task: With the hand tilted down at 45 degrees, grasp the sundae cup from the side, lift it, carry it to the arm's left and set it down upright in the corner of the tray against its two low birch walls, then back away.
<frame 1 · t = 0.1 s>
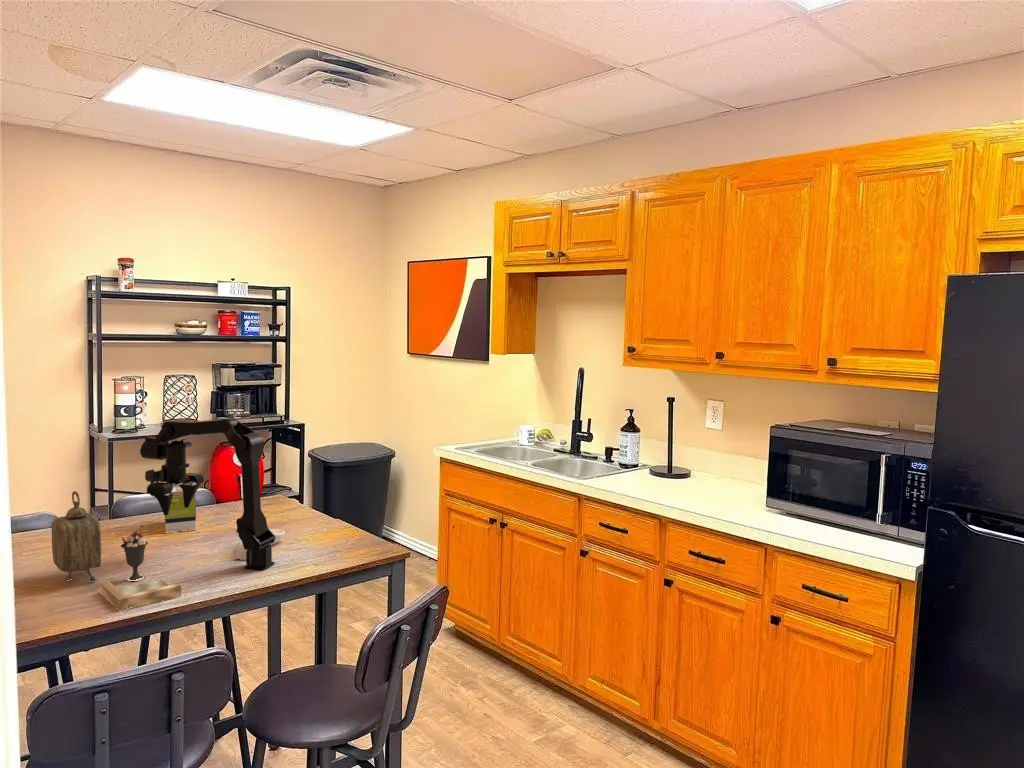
hand: (176, 511, 221), 15 cm above the table, tool pointing down, fingers open, 9 cm apart
tabletop clock: (77, 580, 203), on the table
sundae: (135, 579, 204), on the table
spoon rest: (258, 550, 233), on the table
corner tray: (145, 592, 194), on the table
tea box: (180, 527, 256), on the table
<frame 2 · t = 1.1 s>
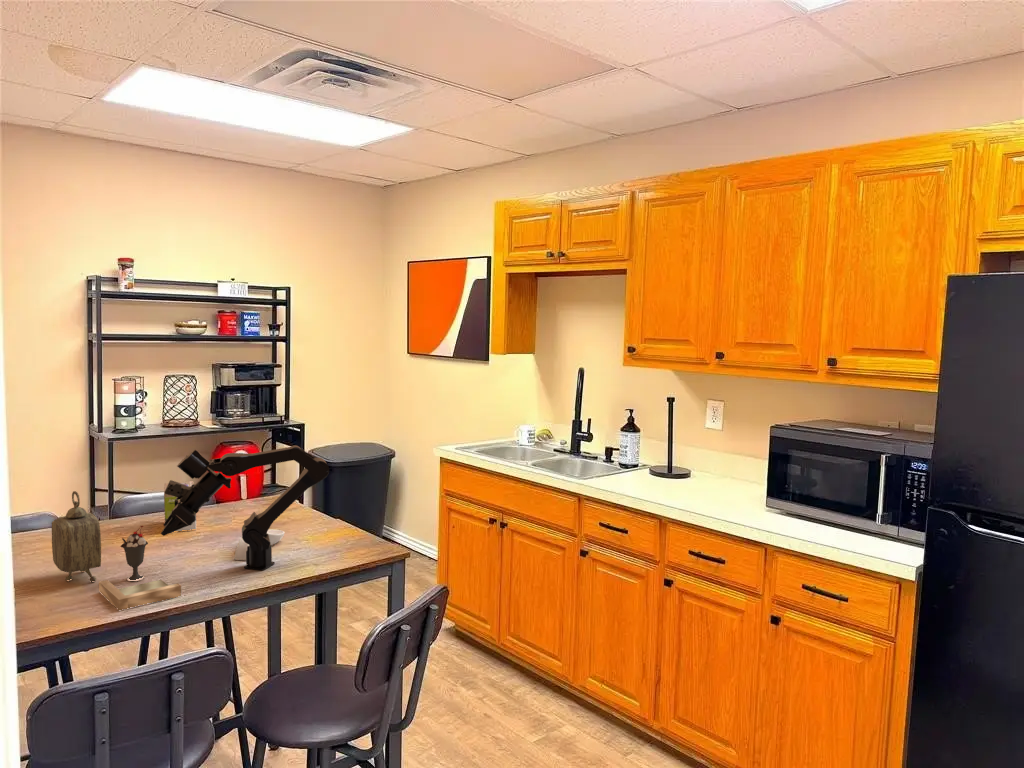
hand: (163, 530, 206), 13 cm above the table, tool tilted 45°, fingers open, 9 cm apart
nothing on the table moved.
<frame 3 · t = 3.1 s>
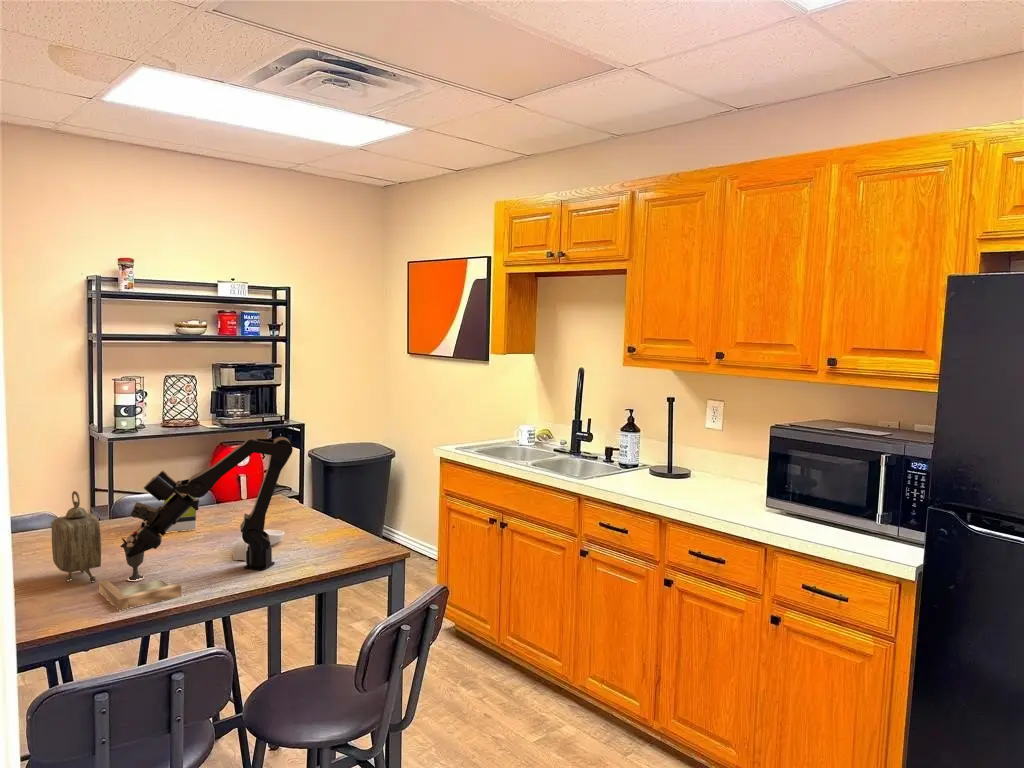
hand: (129, 552, 203), 8 cm above the table, tool tilted 45°, fingers closed on sundae, 6 cm apart
sundae: (135, 579, 204), on the table, touching gripper
when the fingers open (9 cm above the table, at t = 6.3 s): sundae drops 1 cm, resting on corner tray.
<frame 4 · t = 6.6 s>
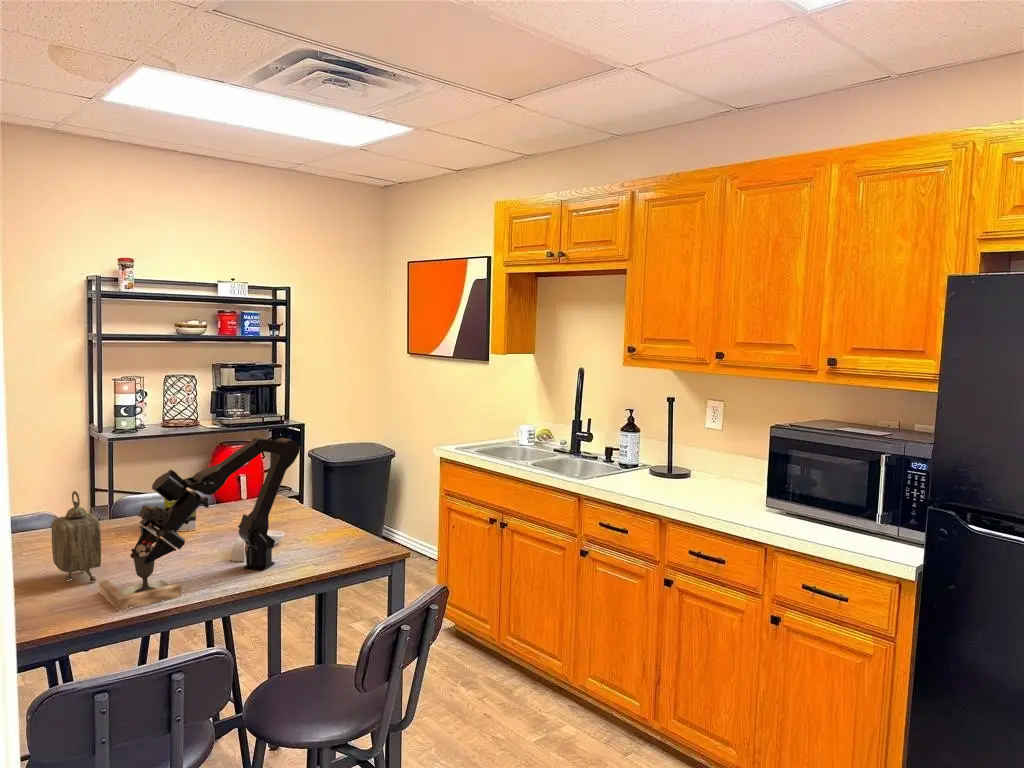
hand: (139, 558, 192), 10 cm above the table, tool tilted 45°, fingers open, 9 cm apart
sundae: (145, 591, 194), resting on corner tray
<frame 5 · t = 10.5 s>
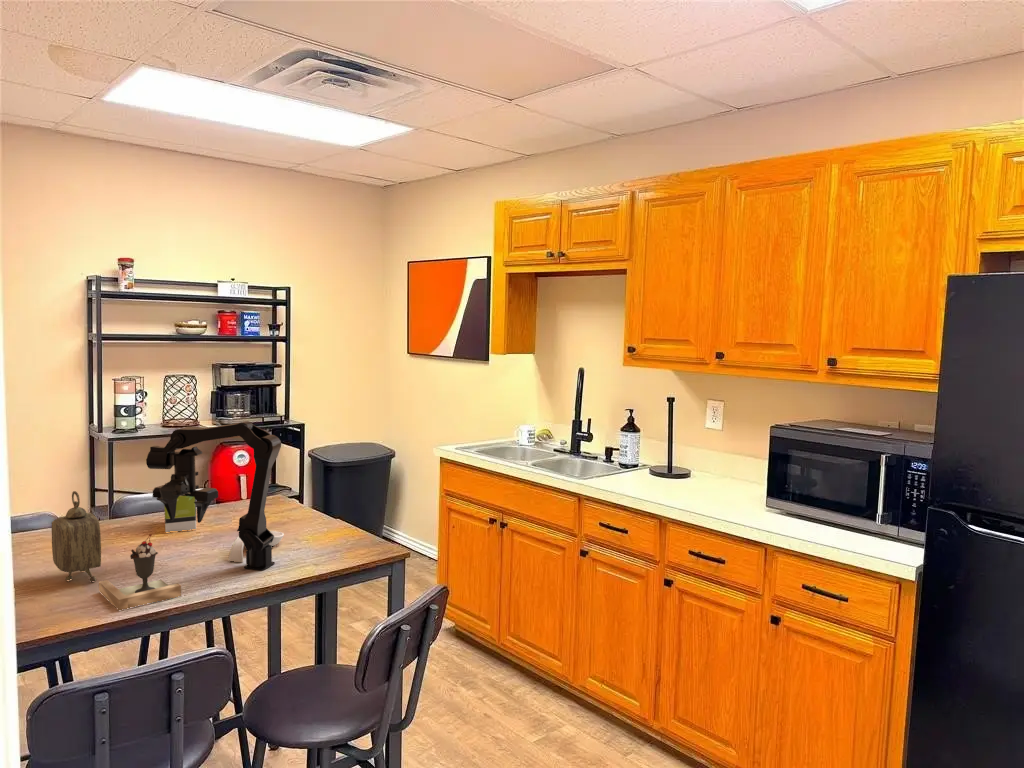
hand: (186, 521, 216), 13 cm above the table, tool pointing down, fingers open, 9 cm apart
at the end: sundae inside the target area on the corner tray (0.1 cm from its centre), point 0.3 cm above the corner tray's base; sundae tilted 0°; the gripper is holding nothing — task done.
